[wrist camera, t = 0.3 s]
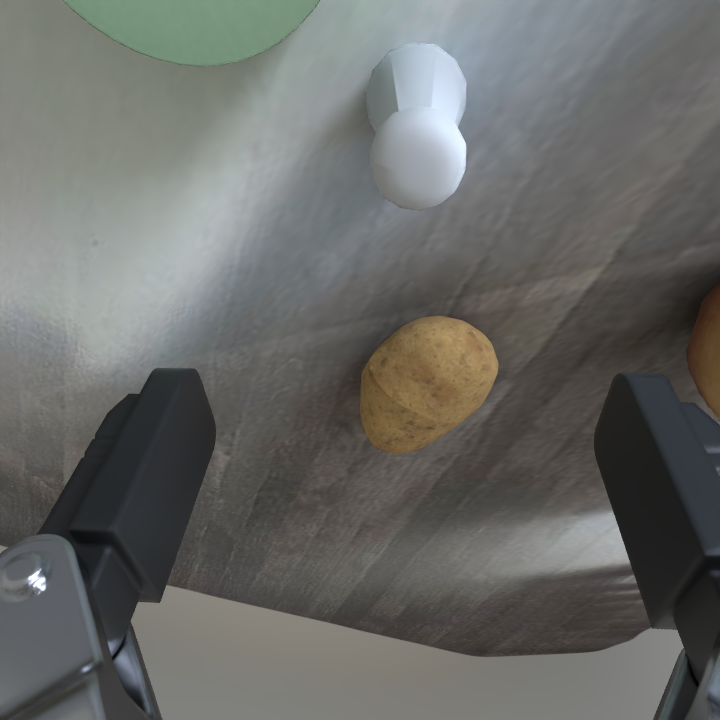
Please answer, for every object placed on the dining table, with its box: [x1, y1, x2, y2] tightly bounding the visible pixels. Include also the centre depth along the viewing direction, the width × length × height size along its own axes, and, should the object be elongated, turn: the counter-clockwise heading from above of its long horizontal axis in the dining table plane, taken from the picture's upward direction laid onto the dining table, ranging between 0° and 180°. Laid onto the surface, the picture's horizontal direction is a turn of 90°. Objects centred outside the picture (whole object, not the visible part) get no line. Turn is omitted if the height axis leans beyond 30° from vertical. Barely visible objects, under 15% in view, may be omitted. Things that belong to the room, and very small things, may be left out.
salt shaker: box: [365, 43, 466, 211], centre depth 28 cm, size 6×6×13 cm
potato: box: [360, 315, 498, 454], centre depth 43 cm, size 10×14×8 cm
